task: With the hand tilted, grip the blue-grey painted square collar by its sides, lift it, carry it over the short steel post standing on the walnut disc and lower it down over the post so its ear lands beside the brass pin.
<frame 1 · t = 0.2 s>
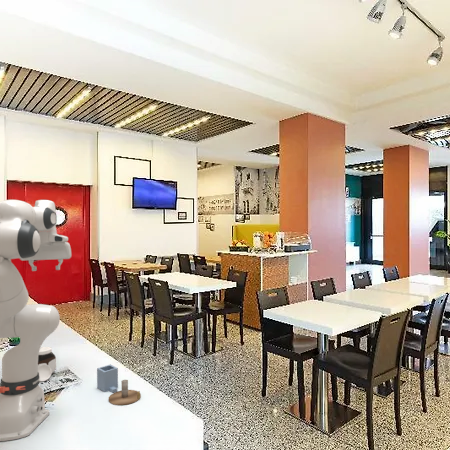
hand: (46, 270, 164), 47 cm above the counter, fingers open, 8 cm apart
post plate: (124, 398, 148), on the counter
spread jar: (43, 377, 169), on the counter
collar: (107, 387, 157), on the counter
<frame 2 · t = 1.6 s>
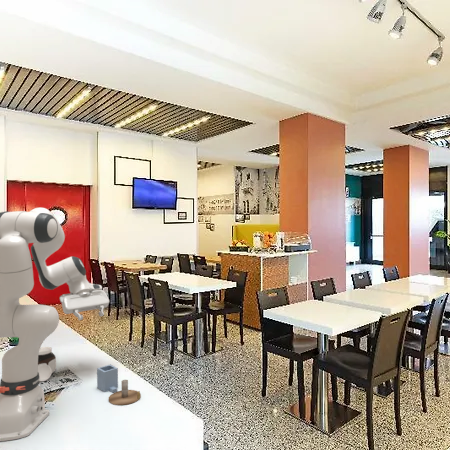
hand: (91, 317, 166), 27 cm above the counter, fingers open, 8 cm apart
nothing on the counter moved.
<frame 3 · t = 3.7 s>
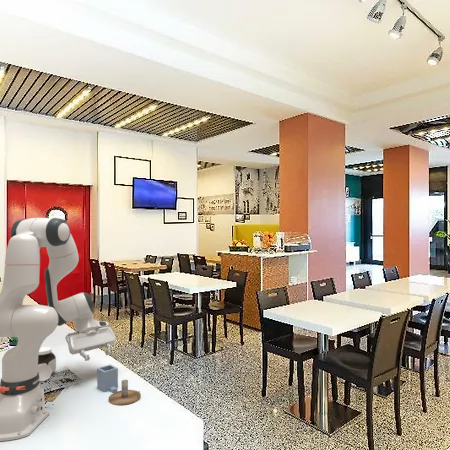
hand: (98, 357, 162), 11 cm above the counter, fingers open, 8 cm apart
nothing on the counter moved.
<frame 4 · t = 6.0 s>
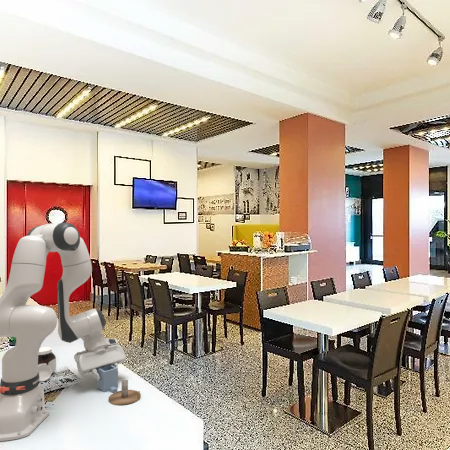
hand: (108, 376, 157), 5 cm above the counter, fingers closed on collar, 6 cm apart
collar: (107, 387, 157), on the counter, touching gripper
everything else where it was.
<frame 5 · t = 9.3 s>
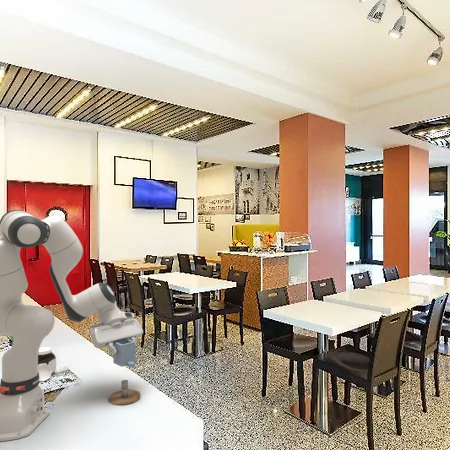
hand: (125, 351, 147), 18 cm above the counter, fingers closed on collar, 6 cm apart
collar: (124, 362, 148), point 14 cm above the counter, touching gripper
everything else where it was.
when the fingers open (7 cm above the counter, at t = 12.4 s): collar drops 1 cm, resting on post plate.
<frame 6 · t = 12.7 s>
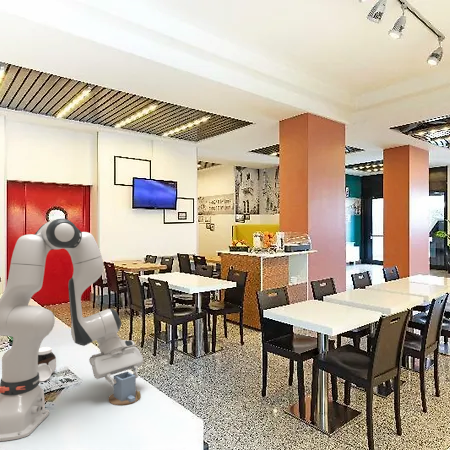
hand: (125, 381, 147), 7 cm above the counter, fingers open, 8 cm apart
collar: (124, 396, 148), point 1 cm above the counter, touching post plate
everything else where it was.
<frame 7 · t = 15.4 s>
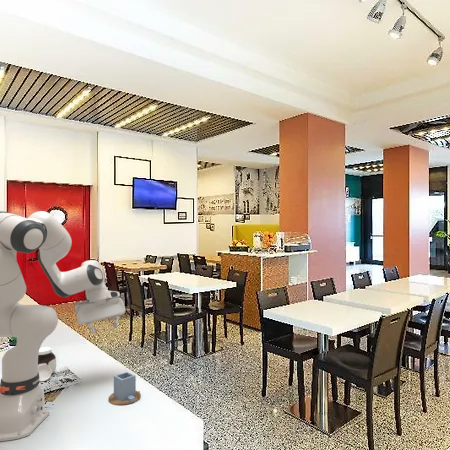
hand: (105, 329, 160), 23 cm above the counter, fingers open, 8 cm apart
nothing on the counter moved.
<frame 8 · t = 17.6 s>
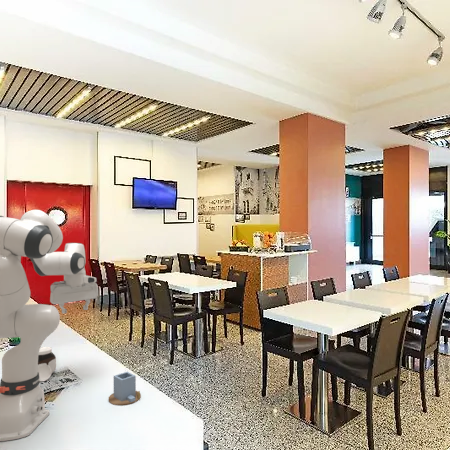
hand: (75, 311, 167), 29 cm above the counter, fingers open, 8 cm apart
nothing on the counter moved.
at the end: collar 0.0 cm from the post plate (horizontally); collar point 0.6 cm above the counter; collar tilted 0° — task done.
